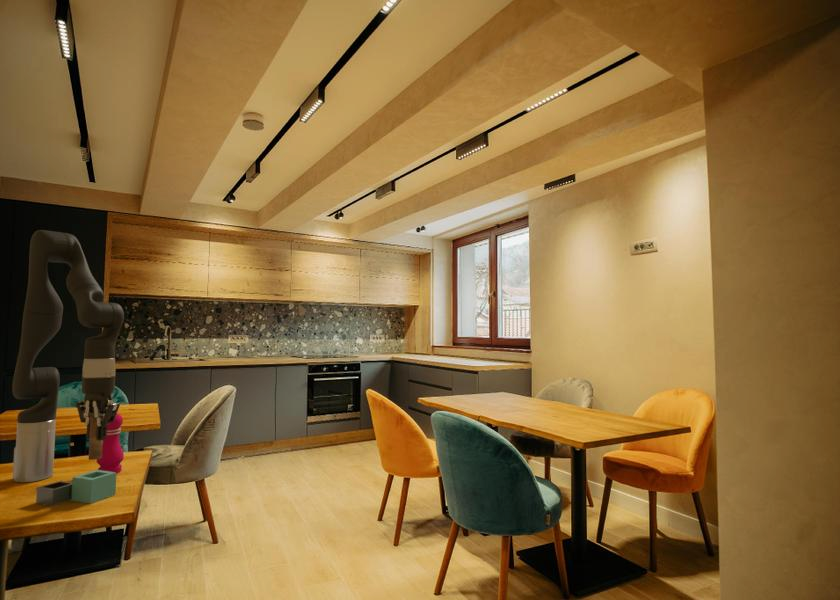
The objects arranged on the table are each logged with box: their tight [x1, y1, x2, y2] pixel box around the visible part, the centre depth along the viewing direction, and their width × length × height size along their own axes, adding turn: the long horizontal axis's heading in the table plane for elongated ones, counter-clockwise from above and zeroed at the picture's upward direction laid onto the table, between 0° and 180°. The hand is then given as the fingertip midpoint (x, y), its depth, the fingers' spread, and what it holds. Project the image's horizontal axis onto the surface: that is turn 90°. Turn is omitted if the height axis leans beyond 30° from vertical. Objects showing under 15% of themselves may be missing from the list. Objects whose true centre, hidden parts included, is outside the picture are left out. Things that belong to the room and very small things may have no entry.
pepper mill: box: [96, 413, 125, 474], centre depth 152 cm, size 7×7×20 cm
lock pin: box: [88, 412, 105, 461], centre depth 130 cm, size 4×4×12 cm
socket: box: [70, 469, 117, 504], centre depth 129 cm, size 7×7×6 cm
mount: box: [35, 480, 72, 507], centre depth 126 cm, size 6×6×4 cm
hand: (96, 439), depth 130 cm, fingers closed on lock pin, 3 cm apart
